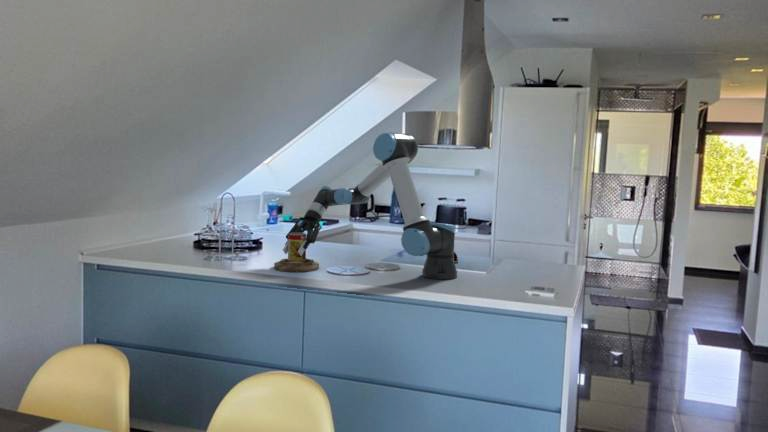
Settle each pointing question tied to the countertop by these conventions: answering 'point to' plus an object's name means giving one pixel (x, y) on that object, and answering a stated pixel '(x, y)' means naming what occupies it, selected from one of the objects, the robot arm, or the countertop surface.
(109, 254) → the countertop surface
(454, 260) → the pottery mug
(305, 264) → the hub trivet
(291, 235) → the canned food
